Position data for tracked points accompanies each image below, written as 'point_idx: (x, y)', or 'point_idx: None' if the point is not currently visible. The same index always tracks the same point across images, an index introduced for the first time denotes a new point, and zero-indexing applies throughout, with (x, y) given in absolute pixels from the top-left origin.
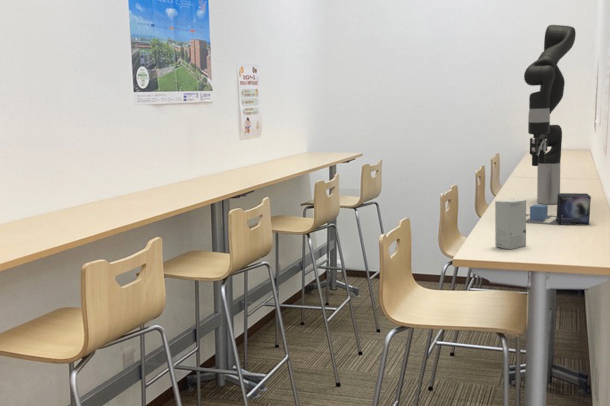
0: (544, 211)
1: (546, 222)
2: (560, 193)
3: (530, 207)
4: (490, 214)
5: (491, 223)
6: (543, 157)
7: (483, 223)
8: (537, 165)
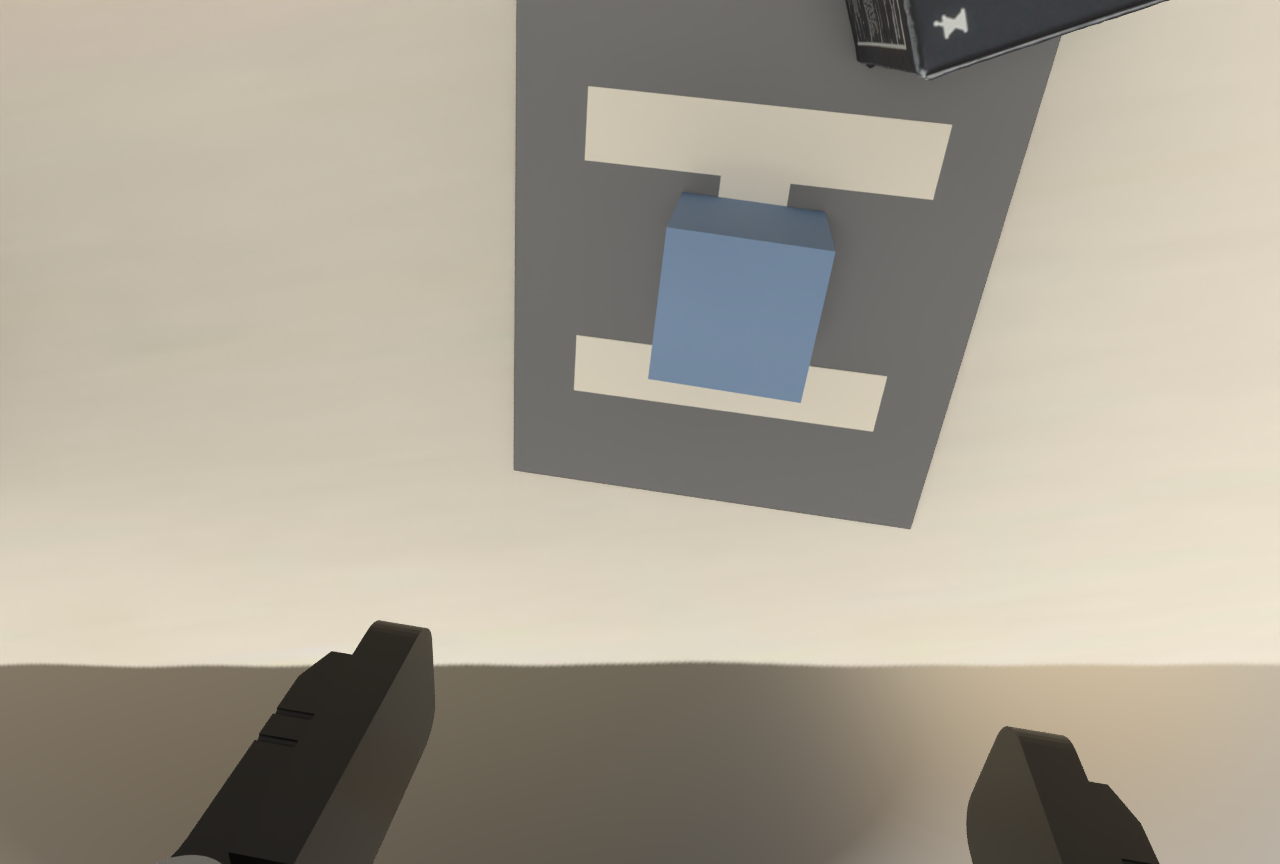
0: (795, 230)
1: (943, 162)
2: (957, 22)
3: (800, 393)
4: (589, 652)
5: (1010, 607)
6: (355, 773)
7: (1015, 656)
8: (1064, 741)
